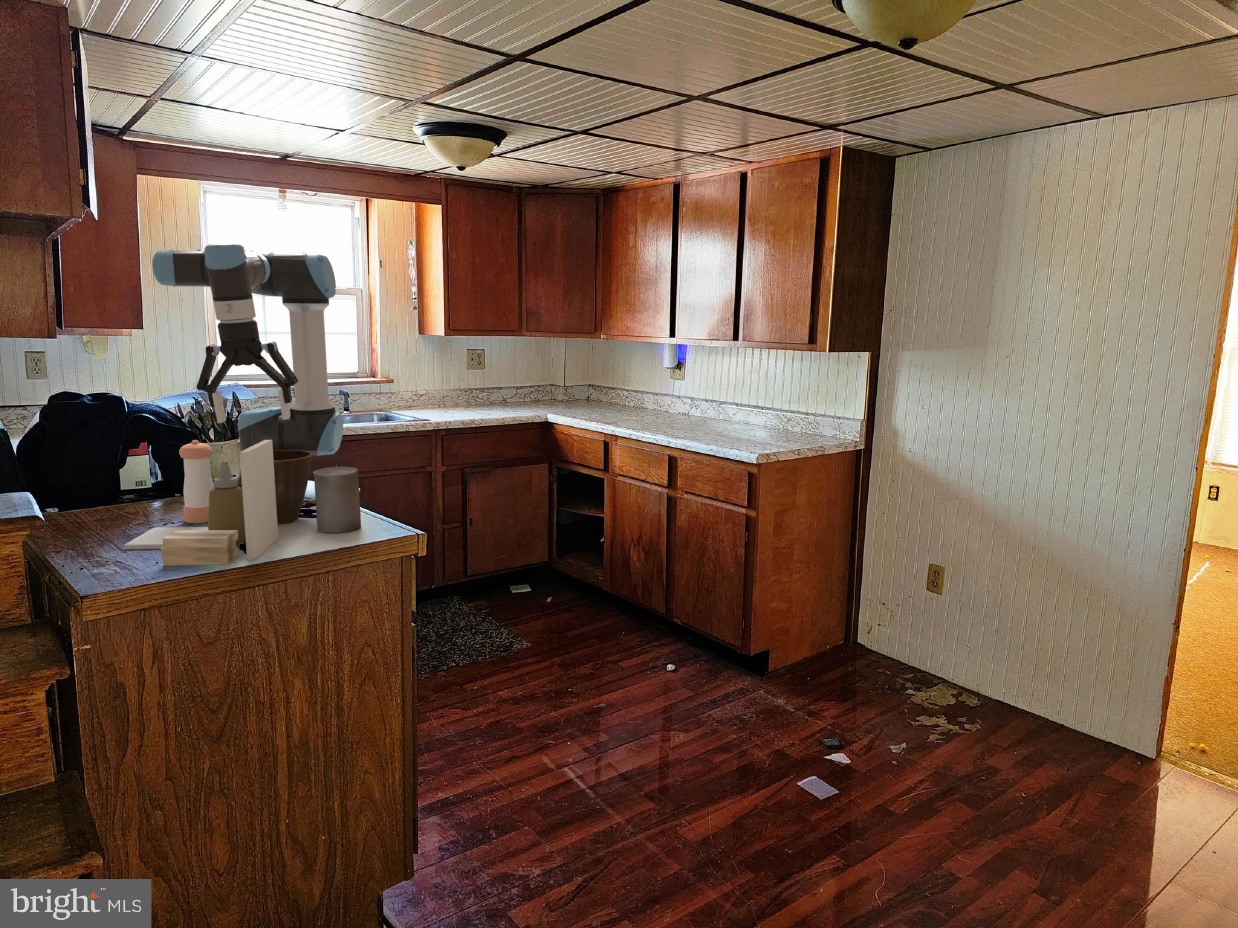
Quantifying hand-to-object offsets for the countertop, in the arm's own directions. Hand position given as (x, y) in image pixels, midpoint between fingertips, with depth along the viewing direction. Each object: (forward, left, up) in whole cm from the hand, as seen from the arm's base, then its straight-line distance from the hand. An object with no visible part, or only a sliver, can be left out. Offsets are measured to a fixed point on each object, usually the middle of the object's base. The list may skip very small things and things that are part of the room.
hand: (254, 420), depth 175 cm
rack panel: (+8, +3, -26) cm, 28 cm away
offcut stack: (+16, -7, -26) cm, 32 cm away
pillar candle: (-8, +15, -27) cm, 31 cm away
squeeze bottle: (+4, -5, -26) cm, 27 cm away
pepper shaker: (-18, -19, -26) cm, 37 cm away
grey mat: (0, -18, -26) cm, 32 cm away
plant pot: (-16, 0, -26) cm, 31 cm away
